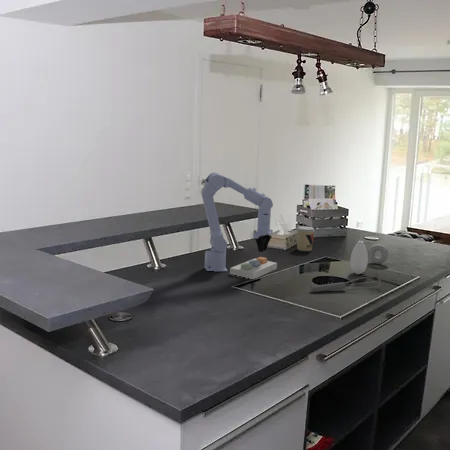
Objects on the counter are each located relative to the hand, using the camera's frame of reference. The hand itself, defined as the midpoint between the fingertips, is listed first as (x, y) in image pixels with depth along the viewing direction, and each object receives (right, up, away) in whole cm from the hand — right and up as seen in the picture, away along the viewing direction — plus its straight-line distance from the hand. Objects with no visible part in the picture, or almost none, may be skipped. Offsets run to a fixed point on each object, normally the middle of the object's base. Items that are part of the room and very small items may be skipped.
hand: (262, 251), depth 252 cm
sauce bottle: (+44, -11, -1) cm, 46 cm away
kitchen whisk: (+33, -16, -26) cm, 45 cm away
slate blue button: (-4, -7, -5) cm, 9 cm away
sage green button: (-8, -8, -10) cm, 15 cm away
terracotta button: (0, -6, +1) cm, 6 cm away
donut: (+59, -7, +18) cm, 62 cm away
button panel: (-4, -9, -4) cm, 11 cm away
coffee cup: (+26, -1, +42) cm, 50 cm away
